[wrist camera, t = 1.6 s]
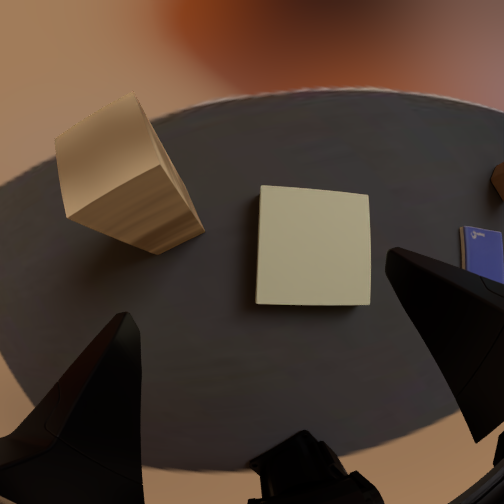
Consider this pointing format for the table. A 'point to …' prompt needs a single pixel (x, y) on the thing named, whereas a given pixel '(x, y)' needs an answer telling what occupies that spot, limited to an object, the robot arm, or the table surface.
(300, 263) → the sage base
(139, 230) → the maple post
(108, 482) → the robot arm
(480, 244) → the hard drive
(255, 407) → the table surface
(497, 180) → the wooden block
